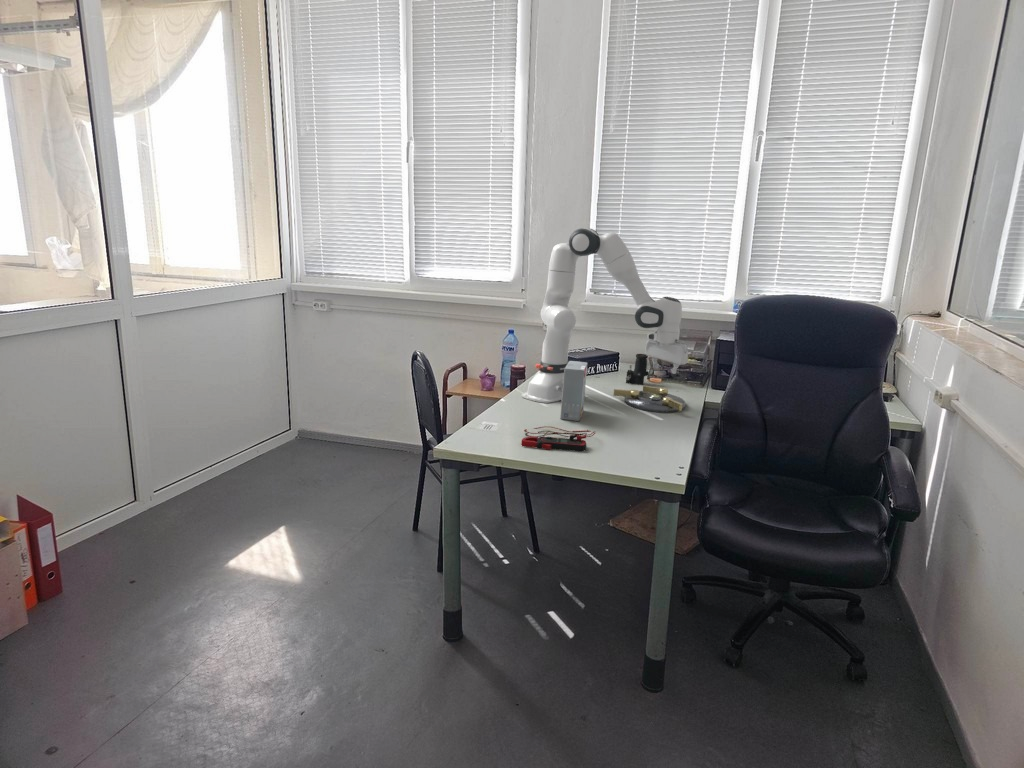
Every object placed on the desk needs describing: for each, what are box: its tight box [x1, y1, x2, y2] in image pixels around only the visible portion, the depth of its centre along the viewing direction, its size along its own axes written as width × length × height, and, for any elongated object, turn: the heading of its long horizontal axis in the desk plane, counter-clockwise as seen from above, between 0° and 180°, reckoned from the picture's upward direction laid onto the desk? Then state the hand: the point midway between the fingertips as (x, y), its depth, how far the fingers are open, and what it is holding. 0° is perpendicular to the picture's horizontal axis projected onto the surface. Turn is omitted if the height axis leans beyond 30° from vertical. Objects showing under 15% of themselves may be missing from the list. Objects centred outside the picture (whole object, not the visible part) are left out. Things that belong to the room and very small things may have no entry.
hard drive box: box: [559, 360, 588, 422], centre depth 245 cm, size 16×8×20 cm, turn 168°
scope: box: [625, 353, 650, 386], centre depth 298 cm, size 8×14×10 cm
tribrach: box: [624, 390, 686, 414], centre depth 267 cm, size 25×25×4 cm
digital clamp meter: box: [520, 426, 596, 452], centre depth 219 cm, size 23×4×25 cm
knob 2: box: [663, 397, 683, 412], centre depth 256 cm, size 11×4×3 cm, turn 23°
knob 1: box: [612, 388, 640, 398], centre depth 268 cm, size 11×4×3 cm, turn 83°
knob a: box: [642, 385, 669, 396], centre depth 274 cm, size 11×4×3 cm, turn 68°
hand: (664, 370), depth 260 cm, fingers open, 8 cm apart
